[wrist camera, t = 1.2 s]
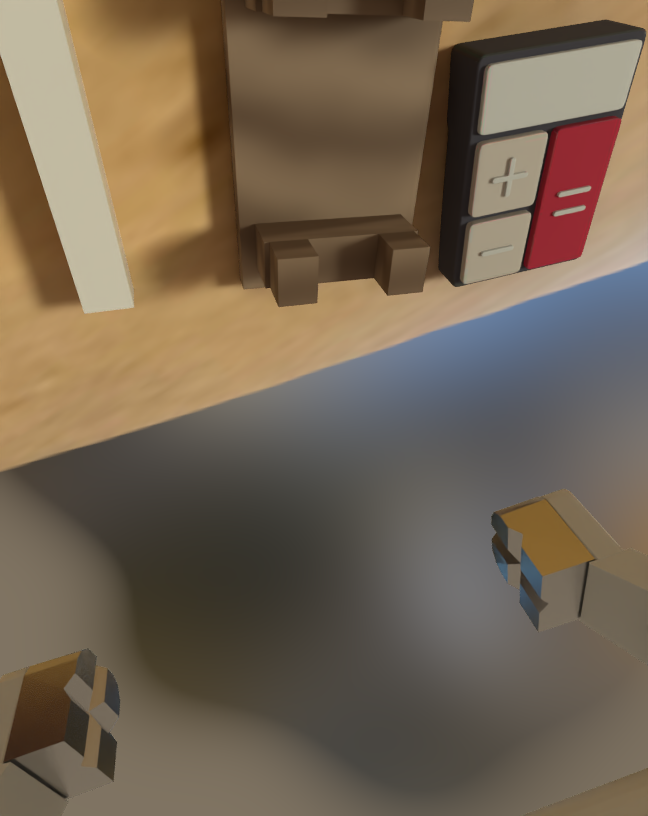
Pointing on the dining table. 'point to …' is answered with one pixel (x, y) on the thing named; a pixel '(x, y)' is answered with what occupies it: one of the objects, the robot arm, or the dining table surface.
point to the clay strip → (65, 148)
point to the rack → (330, 138)
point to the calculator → (530, 145)
